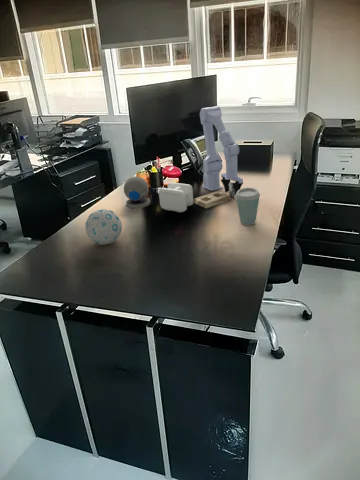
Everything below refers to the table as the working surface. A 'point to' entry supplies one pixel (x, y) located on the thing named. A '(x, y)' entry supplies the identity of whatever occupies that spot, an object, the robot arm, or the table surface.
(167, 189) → the cable organizer
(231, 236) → the table surface
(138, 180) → the webcam
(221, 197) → the socket block
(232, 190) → the pin
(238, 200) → the disposable coffee cup
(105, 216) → the puzzle ball
